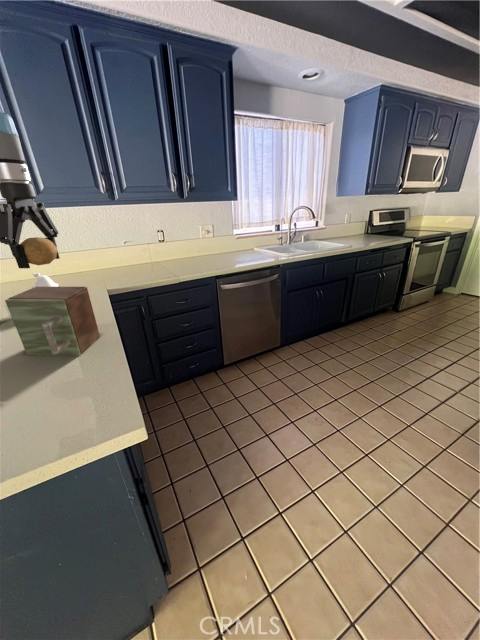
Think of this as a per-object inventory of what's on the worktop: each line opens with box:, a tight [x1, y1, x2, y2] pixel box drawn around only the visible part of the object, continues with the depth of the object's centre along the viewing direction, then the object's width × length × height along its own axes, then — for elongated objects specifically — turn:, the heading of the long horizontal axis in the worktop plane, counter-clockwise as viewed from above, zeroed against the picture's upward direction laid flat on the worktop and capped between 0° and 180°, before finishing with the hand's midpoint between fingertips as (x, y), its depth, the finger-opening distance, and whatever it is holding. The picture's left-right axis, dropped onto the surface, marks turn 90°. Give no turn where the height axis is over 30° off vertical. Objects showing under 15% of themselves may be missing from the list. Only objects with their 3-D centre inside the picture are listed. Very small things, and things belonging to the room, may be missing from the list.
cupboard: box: [7, 286, 101, 355], centre depth 91 cm, size 12×18×20 cm, turn 88°
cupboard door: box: [4, 298, 82, 357], centre depth 81 cm, size 8×18×20 cm, turn 88°
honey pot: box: [31, 272, 59, 289], centre depth 121 cm, size 13×13×18 cm
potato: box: [20, 236, 58, 266], centre depth 79 cm, size 10×14×8 cm
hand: (40, 263), depth 80 cm, fingers closed on potato, 12 cm apart
